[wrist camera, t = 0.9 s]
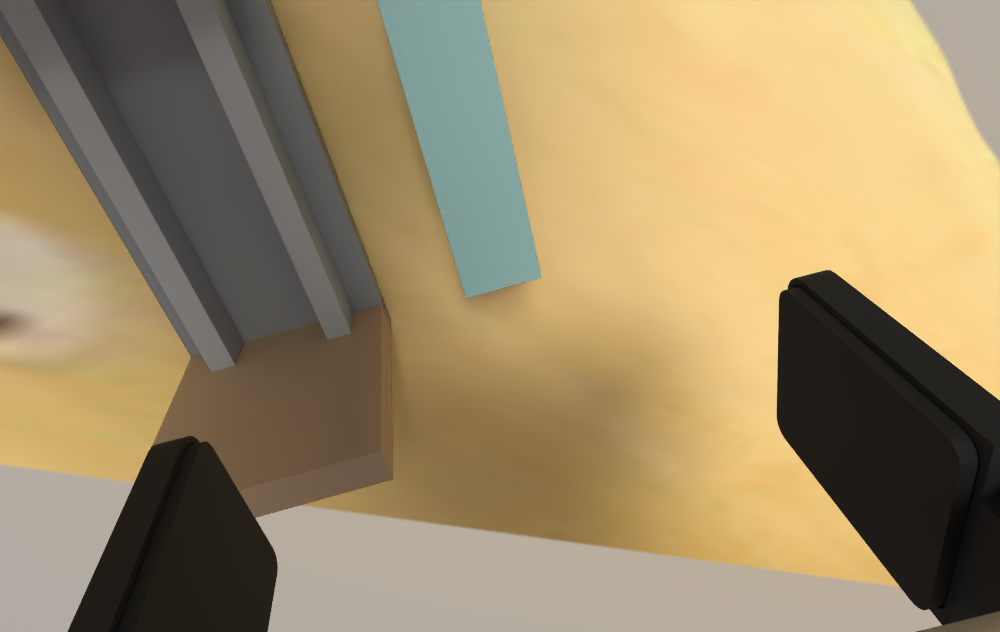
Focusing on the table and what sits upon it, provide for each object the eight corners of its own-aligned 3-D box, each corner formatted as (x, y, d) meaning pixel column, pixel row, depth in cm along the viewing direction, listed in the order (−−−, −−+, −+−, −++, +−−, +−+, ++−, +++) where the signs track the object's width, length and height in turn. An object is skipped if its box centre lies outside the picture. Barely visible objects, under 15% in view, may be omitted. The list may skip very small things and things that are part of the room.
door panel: (365, -59, 27) (357, -51, 19) (442, -80, 27) (465, -81, 19) (444, 211, 33) (463, 298, 25) (506, 194, 33) (544, 276, 25)
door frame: (-70, -110, 24) (-412, -134, 14) (201, -183, 24) (64, -261, 14) (209, 368, 35) (138, 550, 25) (390, 318, 35) (393, 479, 25)
